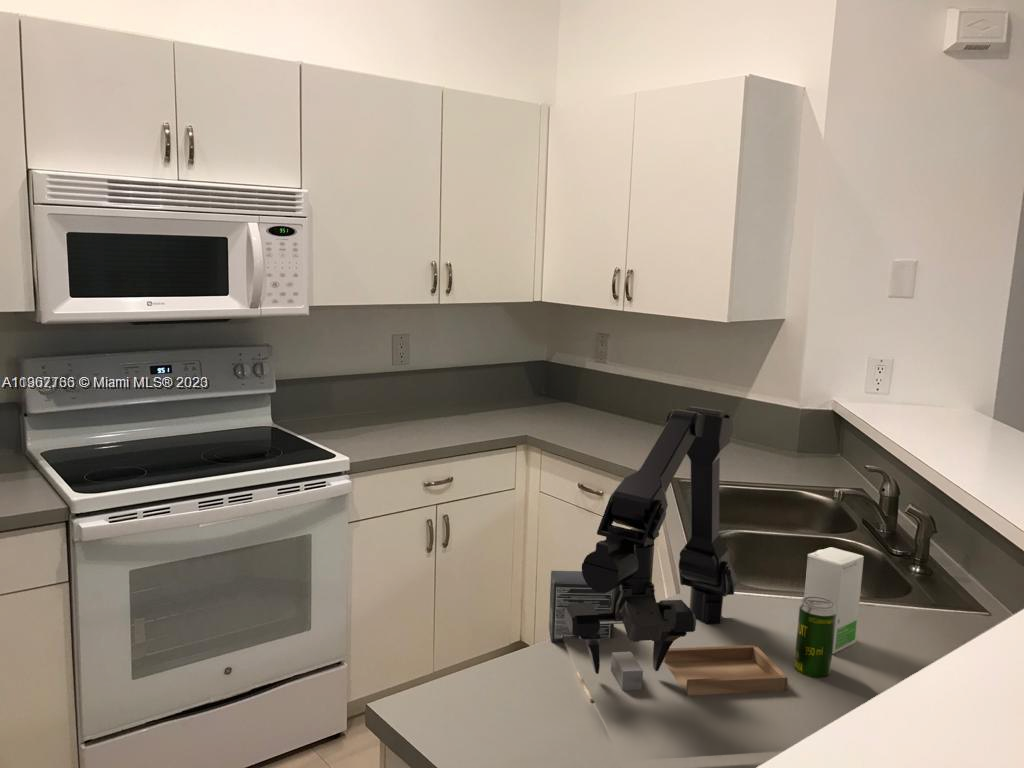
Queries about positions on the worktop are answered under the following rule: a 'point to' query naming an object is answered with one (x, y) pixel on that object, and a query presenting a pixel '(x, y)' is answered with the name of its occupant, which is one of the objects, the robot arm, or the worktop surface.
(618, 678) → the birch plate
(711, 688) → the walnut tray
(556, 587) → the small box
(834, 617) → the beer can
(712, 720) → the worktop surface
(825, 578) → the skincare box
